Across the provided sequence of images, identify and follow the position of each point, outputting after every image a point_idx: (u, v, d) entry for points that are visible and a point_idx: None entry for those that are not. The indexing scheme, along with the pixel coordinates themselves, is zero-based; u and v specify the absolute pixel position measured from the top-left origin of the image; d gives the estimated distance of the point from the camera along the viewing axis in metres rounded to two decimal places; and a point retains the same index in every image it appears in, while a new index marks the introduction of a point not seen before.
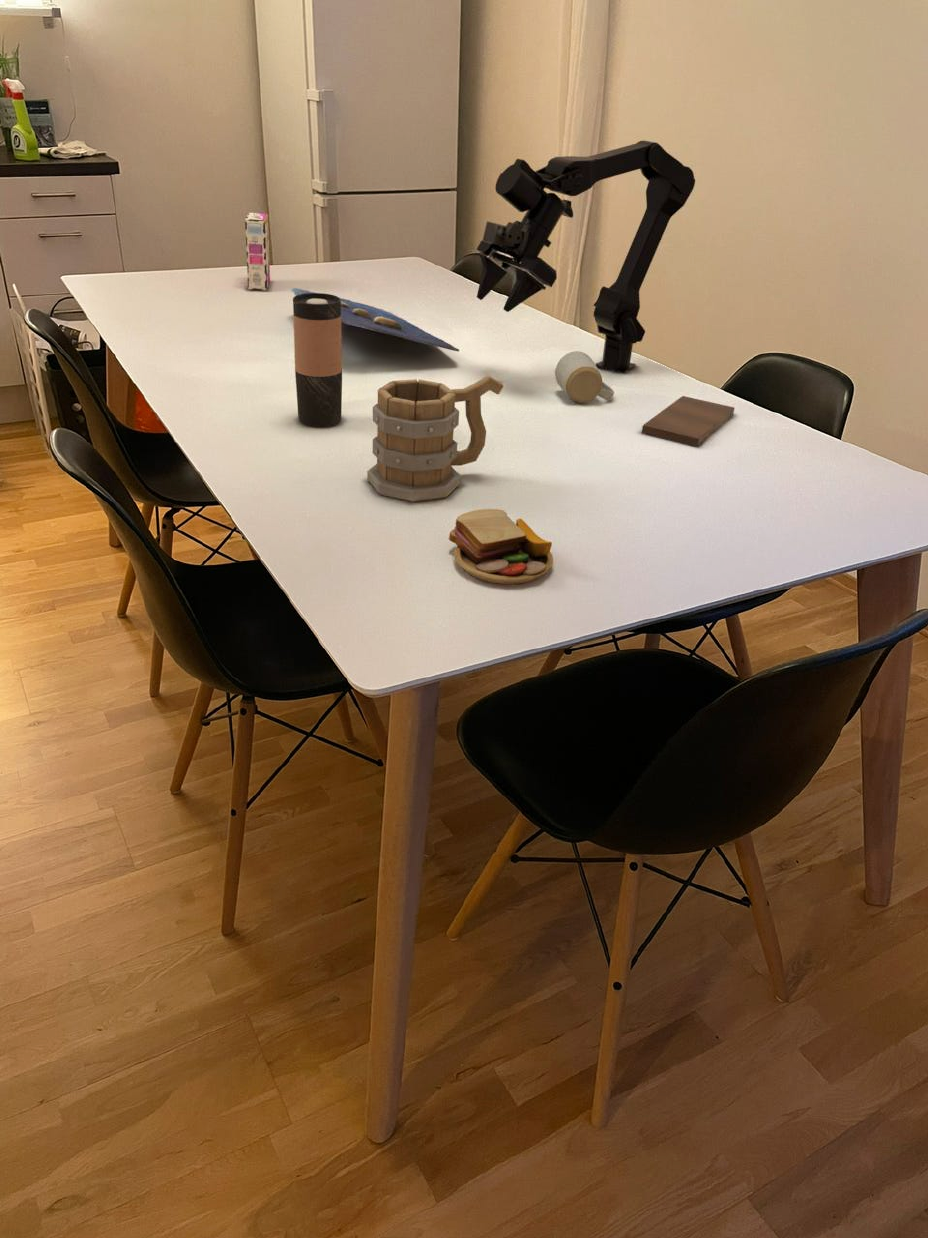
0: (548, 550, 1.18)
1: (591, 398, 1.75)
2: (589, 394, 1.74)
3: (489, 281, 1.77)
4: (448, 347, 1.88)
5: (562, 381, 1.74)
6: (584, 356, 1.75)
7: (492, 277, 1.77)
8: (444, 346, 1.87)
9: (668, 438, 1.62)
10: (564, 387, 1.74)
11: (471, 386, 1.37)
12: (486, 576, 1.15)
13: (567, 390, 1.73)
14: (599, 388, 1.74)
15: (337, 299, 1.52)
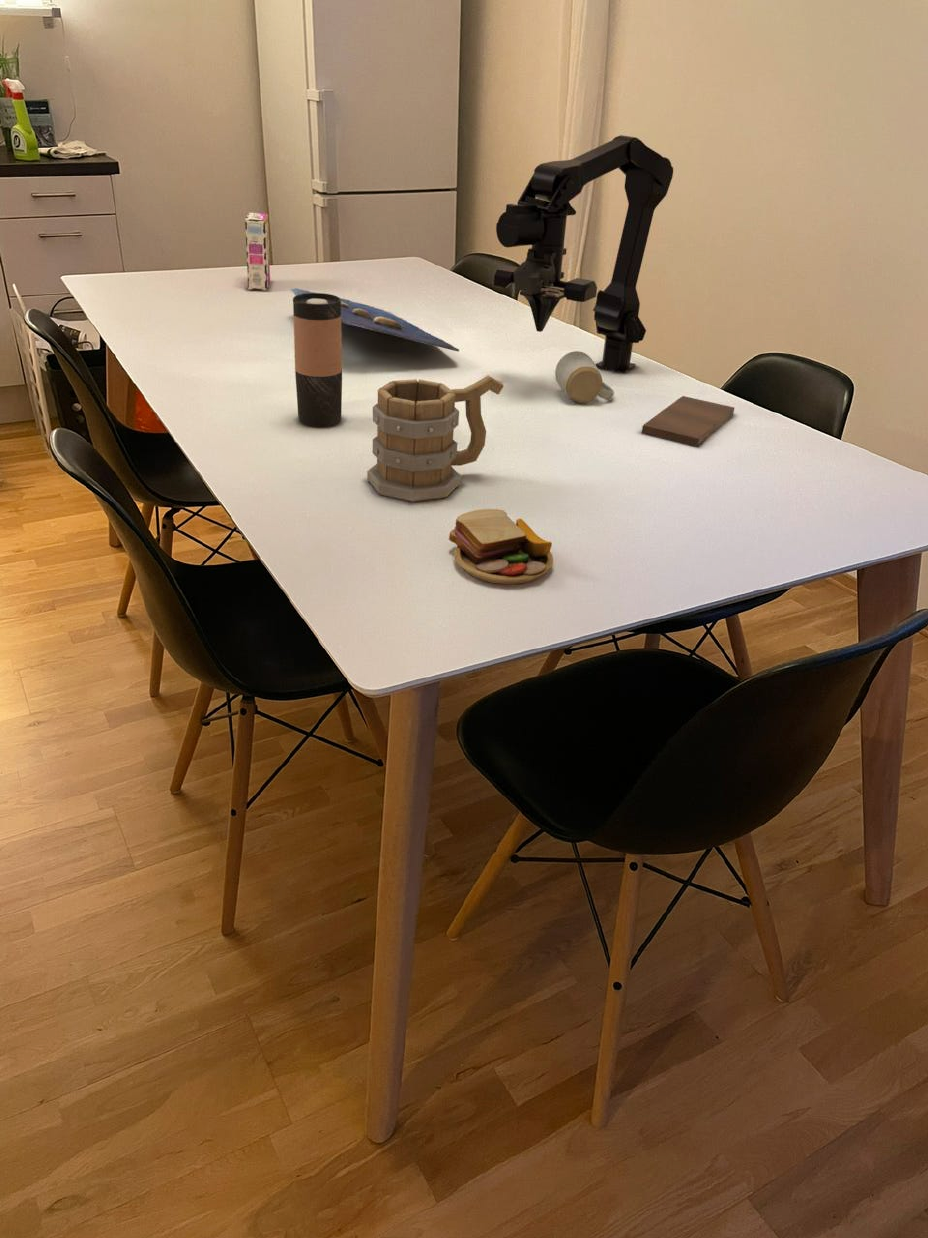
0: (548, 550, 1.18)
1: (591, 398, 1.75)
2: (589, 394, 1.74)
3: (540, 310, 1.76)
4: (448, 347, 1.88)
5: (562, 381, 1.74)
6: (584, 356, 1.75)
7: (541, 305, 1.76)
8: (444, 346, 1.87)
9: (668, 438, 1.62)
10: (564, 387, 1.74)
11: (471, 386, 1.37)
12: (486, 576, 1.15)
13: (567, 390, 1.73)
14: (599, 388, 1.74)
15: (337, 299, 1.52)
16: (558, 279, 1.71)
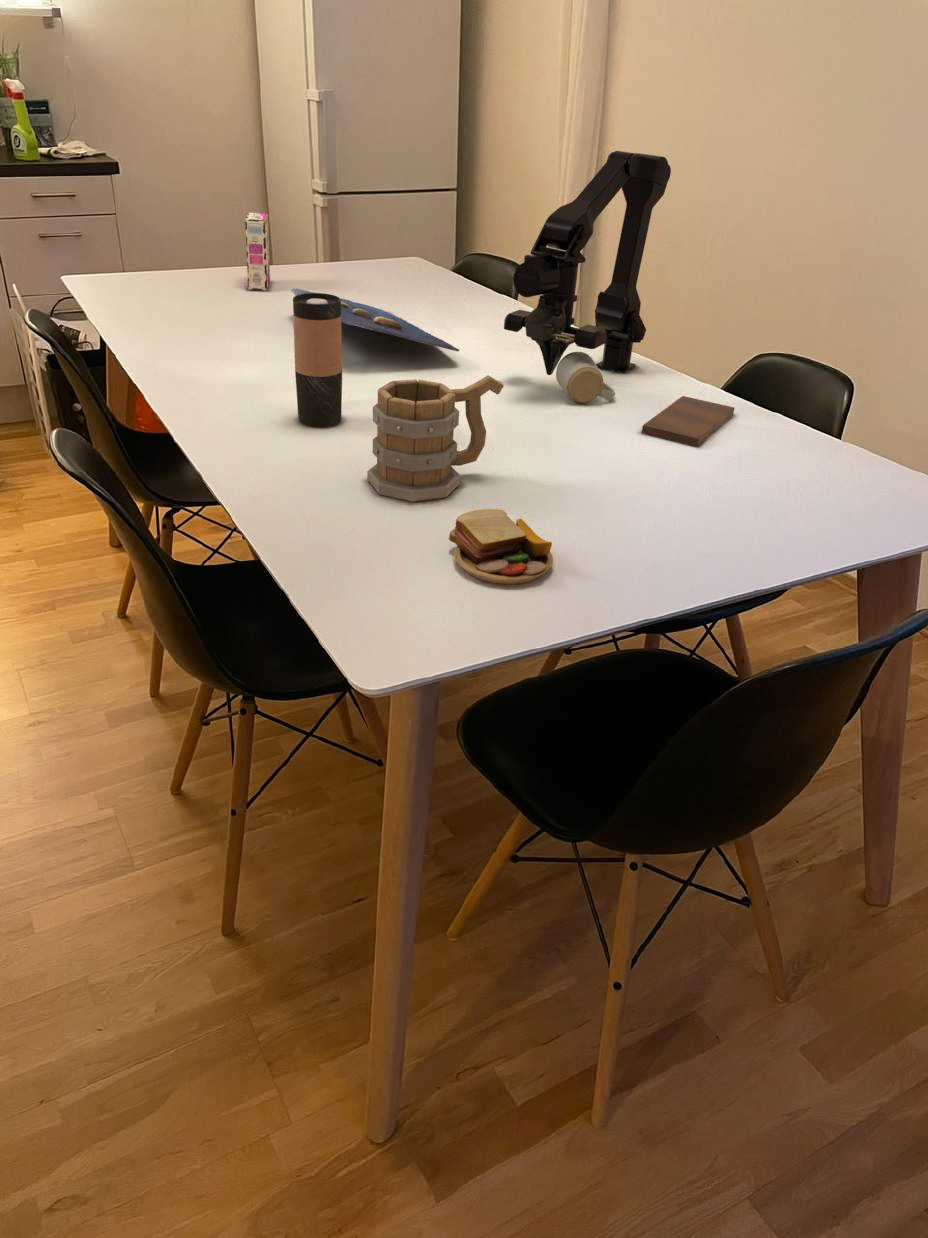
0: (548, 550, 1.18)
1: (592, 398, 1.74)
2: (590, 395, 1.74)
3: None
4: (448, 347, 1.88)
5: (563, 381, 1.74)
6: (585, 356, 1.75)
7: None
8: (444, 346, 1.87)
9: (668, 438, 1.62)
10: (565, 387, 1.74)
11: (471, 386, 1.37)
12: (486, 576, 1.15)
13: (568, 390, 1.73)
14: (600, 388, 1.74)
15: (337, 299, 1.52)
16: (569, 325, 1.74)
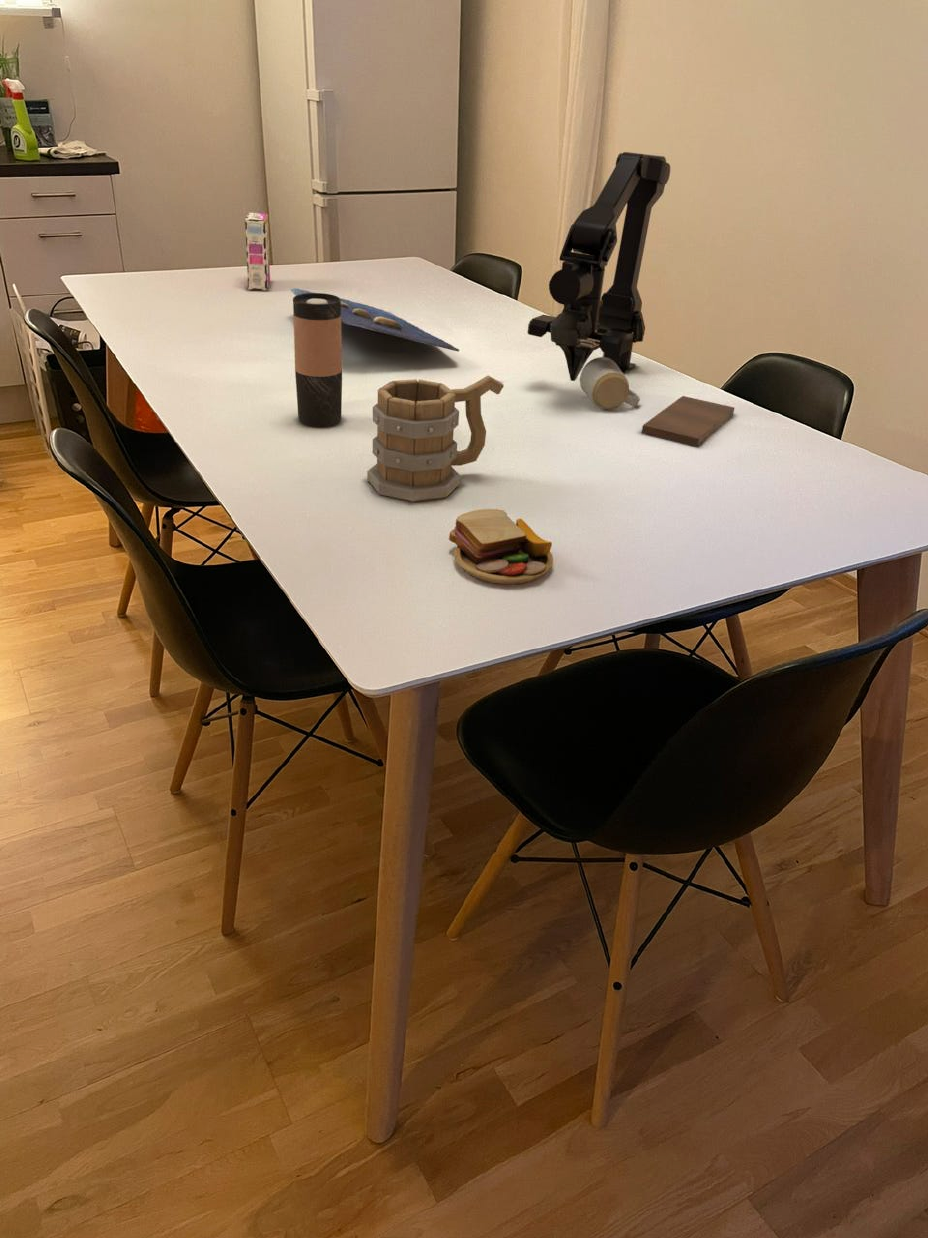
0: (548, 550, 1.18)
1: (618, 405, 1.72)
2: (616, 401, 1.72)
3: None
4: (448, 347, 1.88)
5: (588, 387, 1.72)
6: (610, 362, 1.73)
7: None
8: (444, 346, 1.87)
9: (668, 438, 1.62)
10: (590, 394, 1.72)
11: (471, 386, 1.37)
12: (486, 576, 1.15)
13: (594, 397, 1.71)
14: (626, 394, 1.71)
15: (337, 299, 1.52)
16: (594, 331, 1.72)
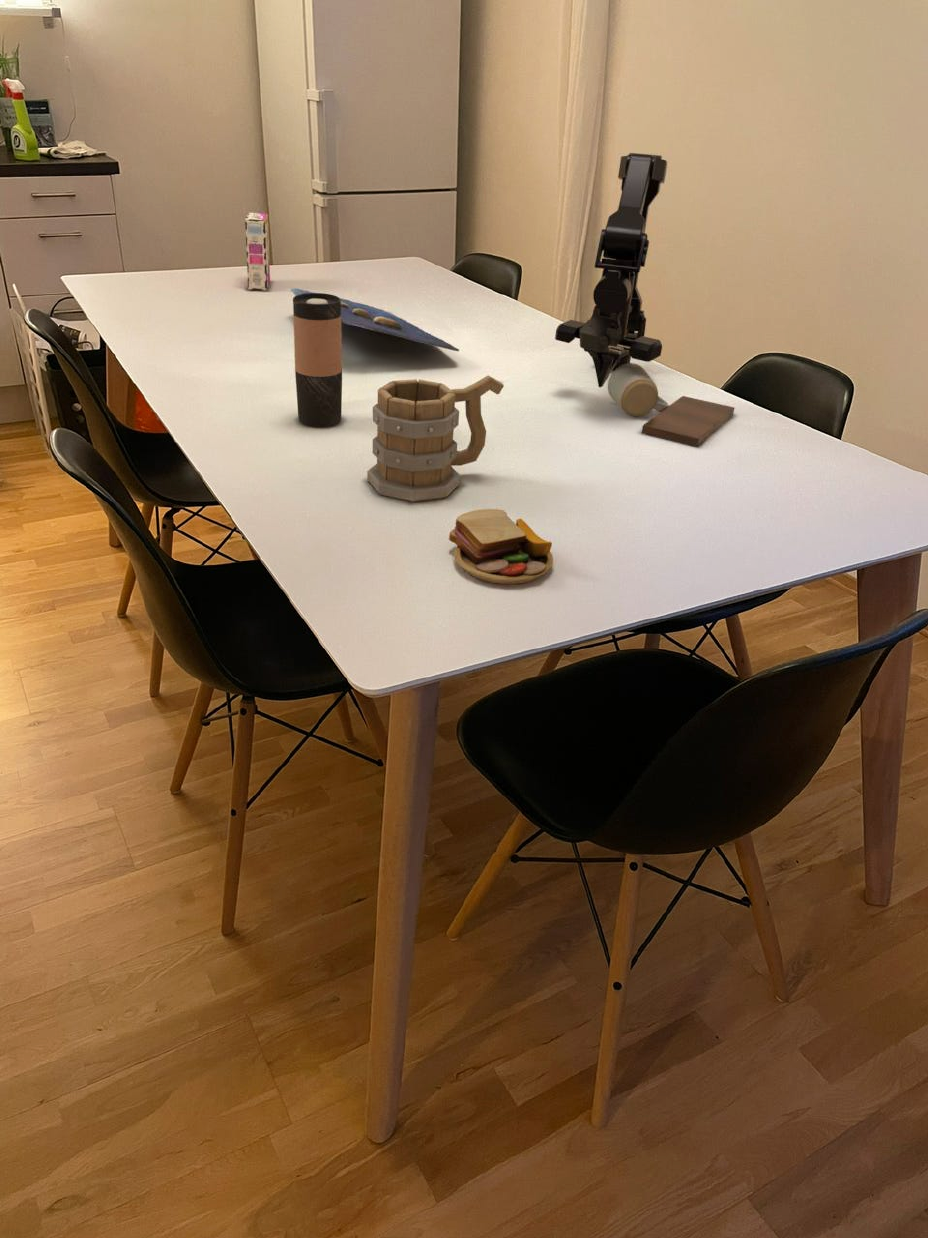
0: (548, 550, 1.18)
1: (646, 411, 1.70)
2: (645, 408, 1.70)
3: None
4: (448, 347, 1.88)
5: (617, 394, 1.70)
6: (638, 368, 1.71)
7: None
8: (444, 346, 1.87)
9: (668, 438, 1.62)
10: (619, 400, 1.69)
11: (471, 386, 1.37)
12: (486, 576, 1.15)
13: (622, 403, 1.69)
14: (655, 401, 1.69)
15: (337, 299, 1.52)
16: (623, 337, 1.69)
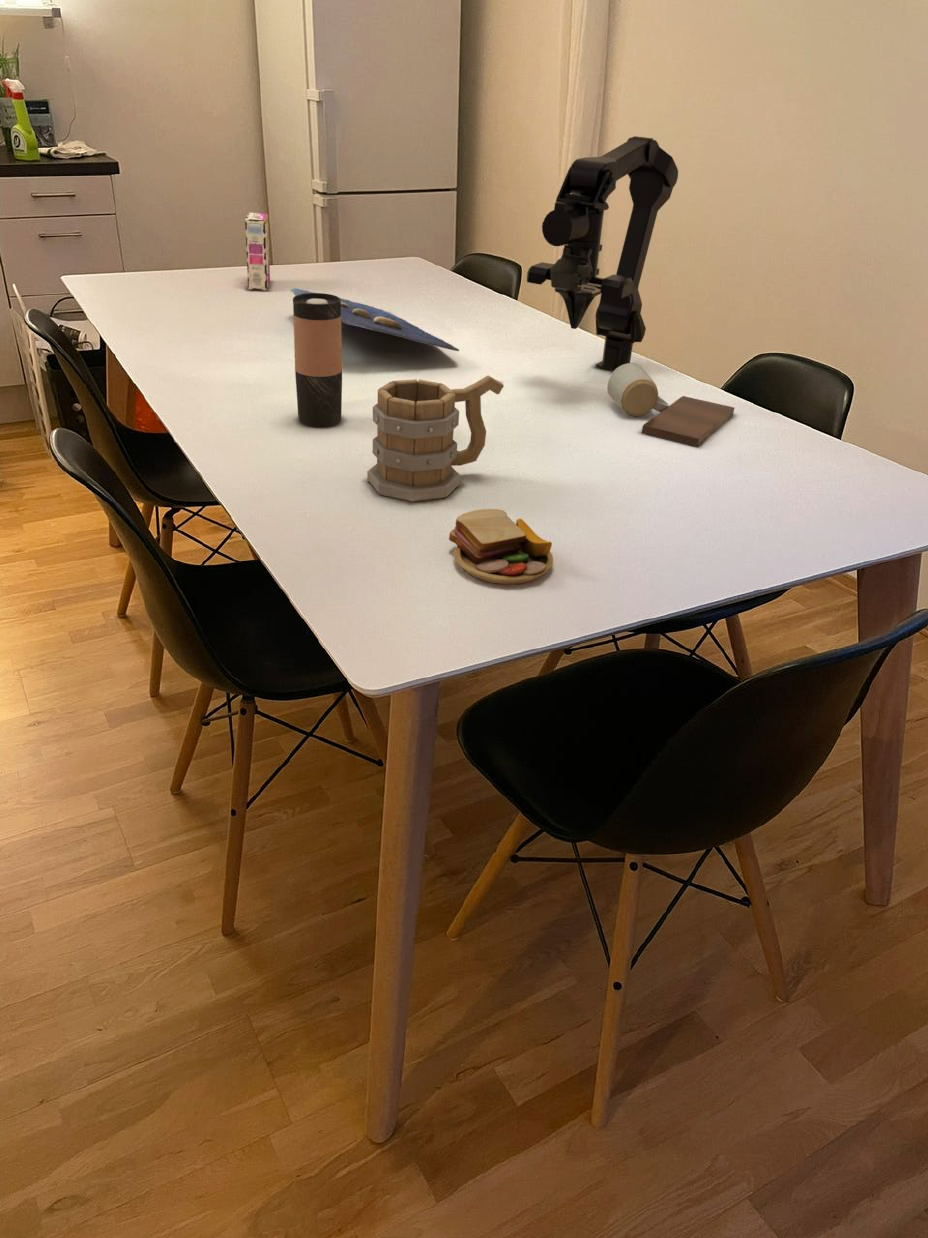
0: (548, 550, 1.18)
1: (646, 411, 1.70)
2: (645, 408, 1.70)
3: (575, 307, 1.74)
4: (448, 347, 1.88)
5: (617, 394, 1.70)
6: (639, 368, 1.71)
7: (575, 302, 1.74)
8: (444, 346, 1.87)
9: (668, 438, 1.62)
10: (619, 400, 1.69)
11: (471, 386, 1.37)
12: (486, 576, 1.15)
13: (622, 403, 1.69)
14: (655, 401, 1.69)
15: (337, 299, 1.52)
16: (594, 276, 1.70)
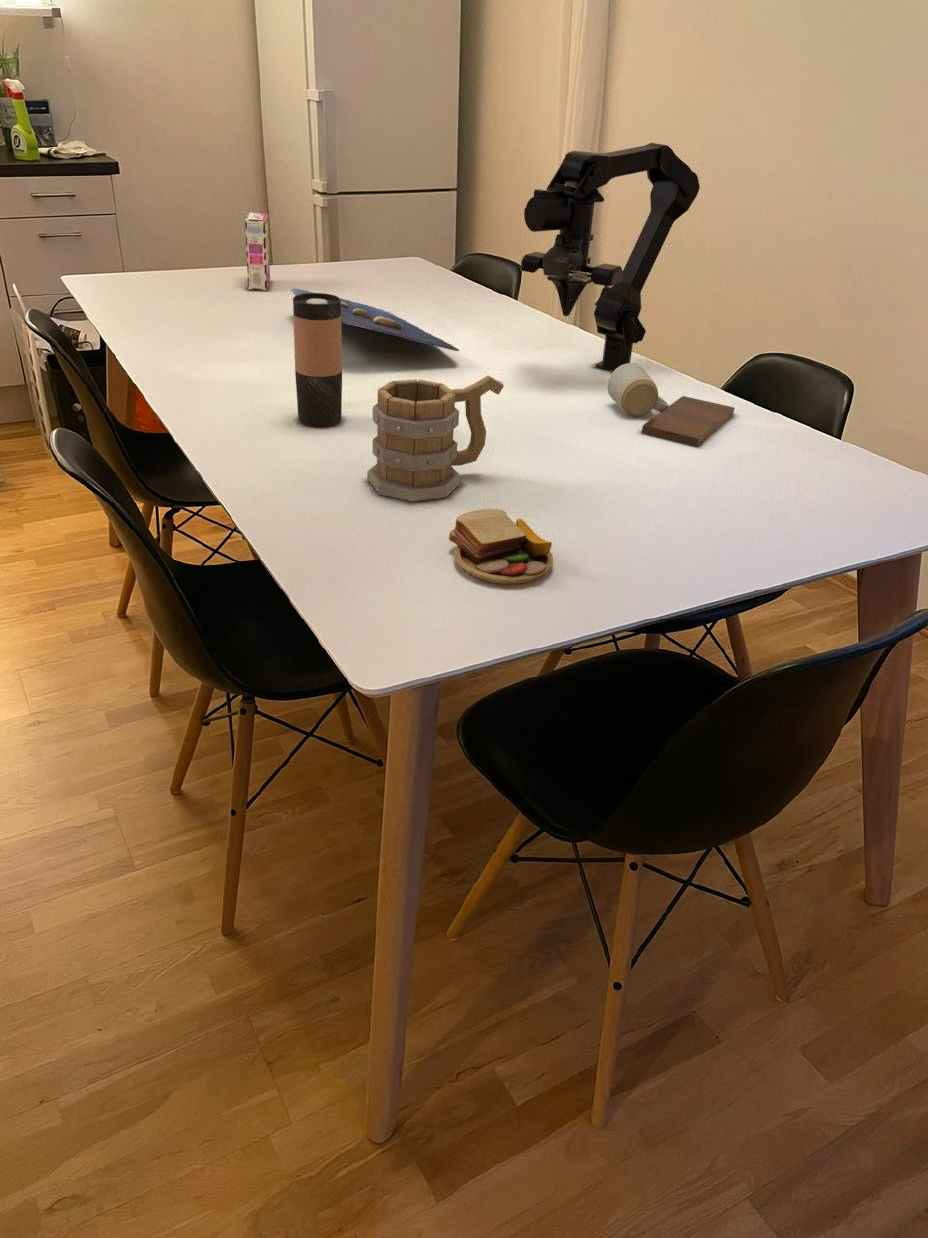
0: (548, 550, 1.18)
1: (646, 411, 1.70)
2: (645, 408, 1.70)
3: (567, 295, 1.80)
4: (448, 347, 1.88)
5: (617, 394, 1.70)
6: (639, 368, 1.71)
7: (567, 290, 1.80)
8: (444, 346, 1.87)
9: (668, 438, 1.62)
10: (619, 400, 1.69)
11: (471, 386, 1.37)
12: (486, 576, 1.15)
13: (622, 403, 1.69)
14: (655, 401, 1.69)
15: (337, 299, 1.52)
16: (585, 264, 1.76)
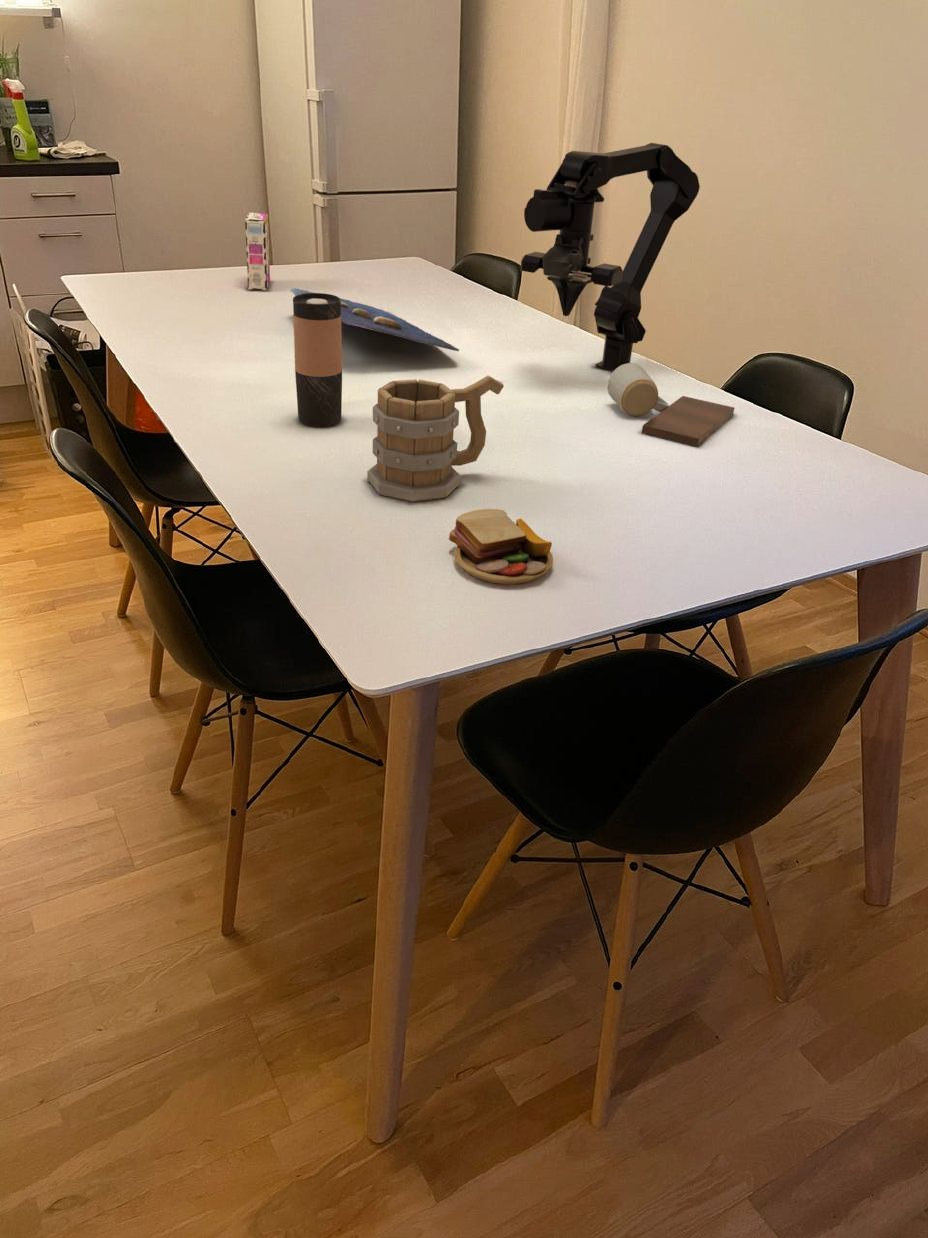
0: (548, 550, 1.18)
1: (646, 411, 1.70)
2: (645, 408, 1.70)
3: (567, 295, 1.80)
4: (448, 347, 1.88)
5: (617, 394, 1.70)
6: (639, 368, 1.71)
7: (567, 290, 1.80)
8: (444, 346, 1.87)
9: (668, 438, 1.62)
10: (619, 400, 1.69)
11: (471, 386, 1.37)
12: (486, 576, 1.15)
13: (622, 403, 1.69)
14: (655, 401, 1.69)
15: (337, 299, 1.52)
16: (585, 264, 1.76)
